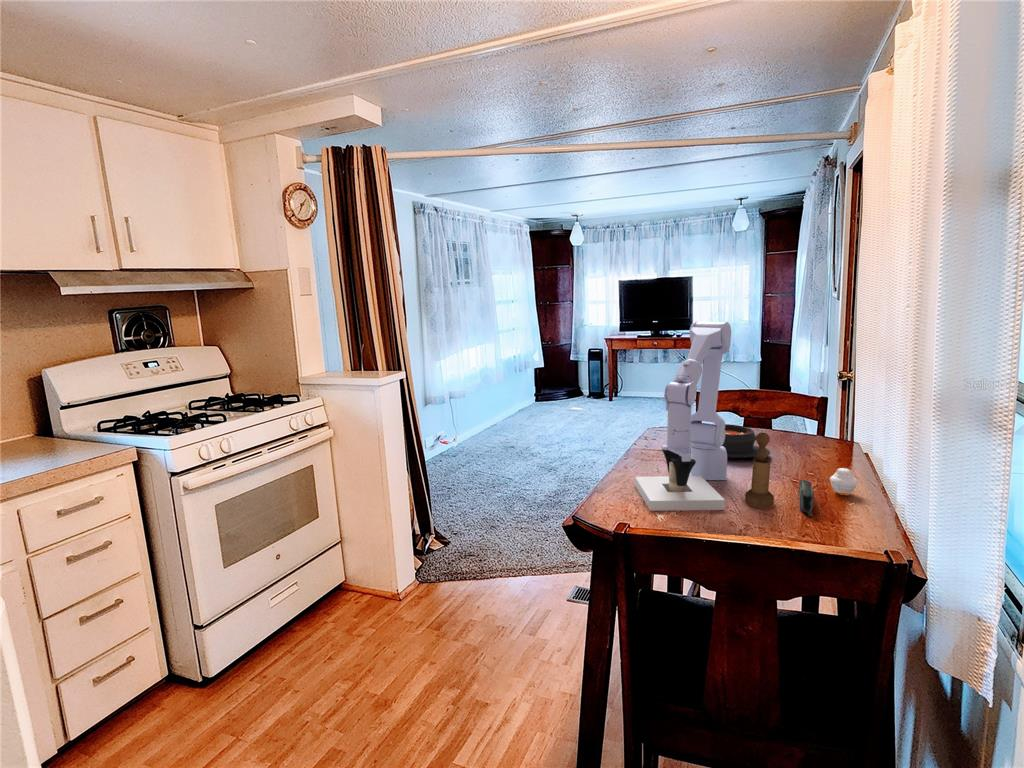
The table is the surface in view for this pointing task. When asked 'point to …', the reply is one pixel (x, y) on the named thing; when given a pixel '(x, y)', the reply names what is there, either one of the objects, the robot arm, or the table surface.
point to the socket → (678, 494)
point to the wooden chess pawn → (760, 477)
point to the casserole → (740, 442)
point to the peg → (674, 480)
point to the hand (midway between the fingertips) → (677, 480)
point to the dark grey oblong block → (806, 496)
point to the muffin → (843, 481)
